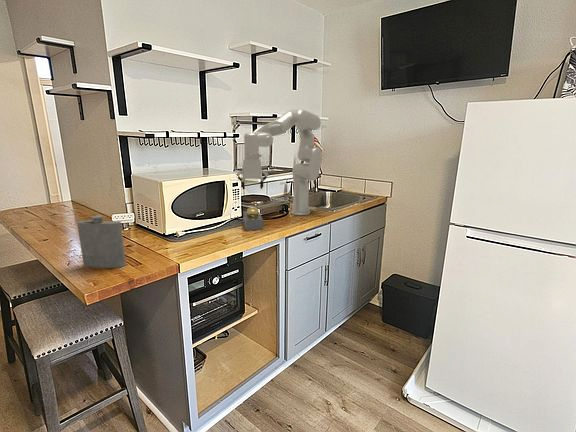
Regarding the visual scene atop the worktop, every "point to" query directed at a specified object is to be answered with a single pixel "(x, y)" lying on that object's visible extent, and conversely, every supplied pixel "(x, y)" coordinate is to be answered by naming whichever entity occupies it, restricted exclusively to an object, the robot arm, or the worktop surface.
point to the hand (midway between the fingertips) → (252, 188)
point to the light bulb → (252, 212)
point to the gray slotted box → (252, 222)
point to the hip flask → (101, 243)
